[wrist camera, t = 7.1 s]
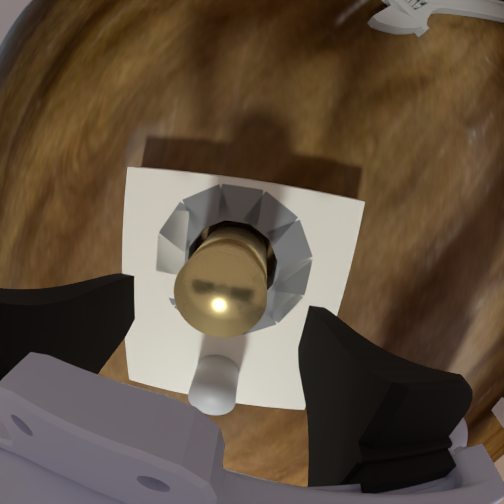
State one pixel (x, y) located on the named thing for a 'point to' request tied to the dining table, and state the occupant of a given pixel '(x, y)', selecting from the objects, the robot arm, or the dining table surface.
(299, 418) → the dining table surface
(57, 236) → the dining table surface
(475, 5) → the adjustable wrench
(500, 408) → the napkin holder
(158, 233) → the board
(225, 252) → the brass cylinder
